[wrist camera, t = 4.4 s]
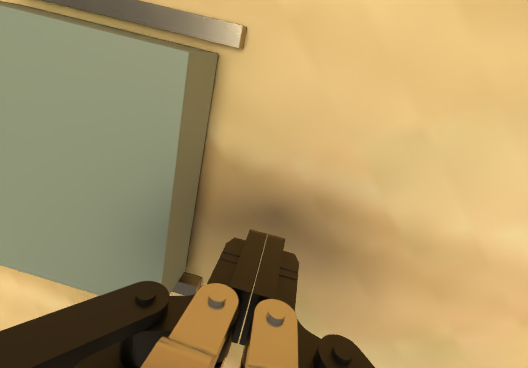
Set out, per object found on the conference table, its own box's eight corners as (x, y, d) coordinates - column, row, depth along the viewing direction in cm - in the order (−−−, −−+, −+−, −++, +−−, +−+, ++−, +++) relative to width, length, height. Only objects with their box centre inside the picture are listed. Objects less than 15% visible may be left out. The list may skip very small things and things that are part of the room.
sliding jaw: (218, 53, 16) (189, 52, 13) (185, 269, 22) (158, 313, 18) (20, 4, 17) (-63, -11, 13) (37, 226, 22) (-19, 259, 19)
